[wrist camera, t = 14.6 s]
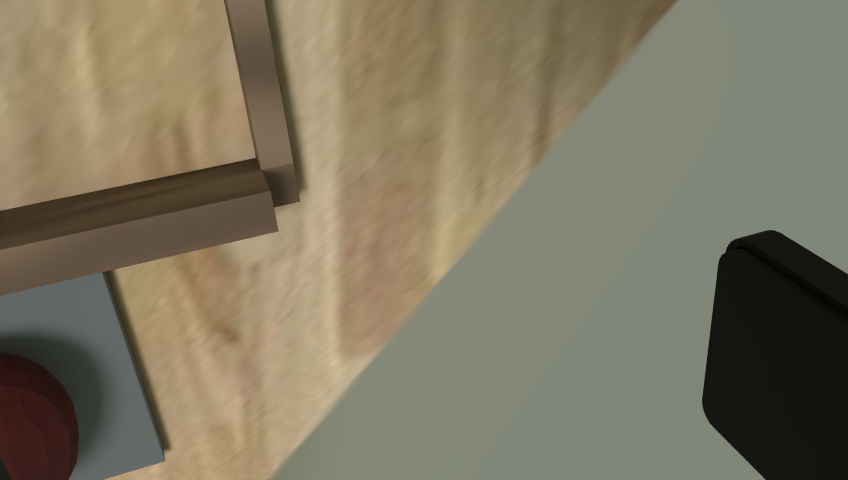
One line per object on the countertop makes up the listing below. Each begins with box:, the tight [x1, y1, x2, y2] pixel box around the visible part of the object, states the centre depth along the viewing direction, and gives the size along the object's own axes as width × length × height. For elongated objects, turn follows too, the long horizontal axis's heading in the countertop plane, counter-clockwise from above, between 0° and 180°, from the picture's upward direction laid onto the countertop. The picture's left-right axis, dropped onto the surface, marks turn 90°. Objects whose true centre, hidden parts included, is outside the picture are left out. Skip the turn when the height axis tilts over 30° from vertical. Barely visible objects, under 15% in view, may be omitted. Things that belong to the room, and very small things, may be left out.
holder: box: [0, 0, 300, 296], centre depth 32 cm, size 15×15×4 cm
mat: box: [0, 272, 165, 480], centre depth 38 cm, size 12×12×1 cm
